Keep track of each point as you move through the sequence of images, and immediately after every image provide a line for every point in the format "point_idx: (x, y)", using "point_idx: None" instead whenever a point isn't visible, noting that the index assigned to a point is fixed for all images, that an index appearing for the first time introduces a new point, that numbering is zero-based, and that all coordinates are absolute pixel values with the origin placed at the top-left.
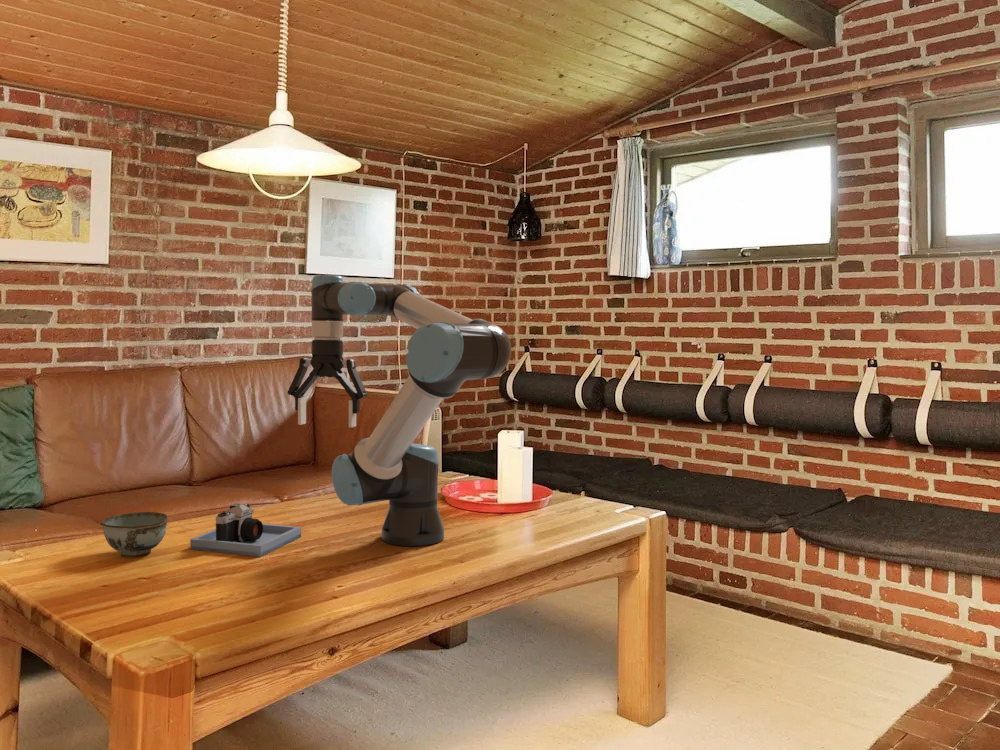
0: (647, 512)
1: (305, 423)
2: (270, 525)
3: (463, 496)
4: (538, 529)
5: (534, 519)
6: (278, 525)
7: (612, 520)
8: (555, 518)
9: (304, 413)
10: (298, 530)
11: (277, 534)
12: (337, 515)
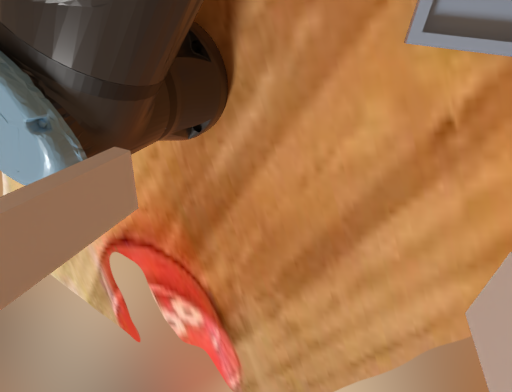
0: None
1: (470, 308)
2: (509, 42)
3: (199, 323)
4: None
5: None
6: (481, 47)
7: None
8: None
9: (507, 376)
10: (410, 27)
11: (475, 16)
12: (356, 232)
